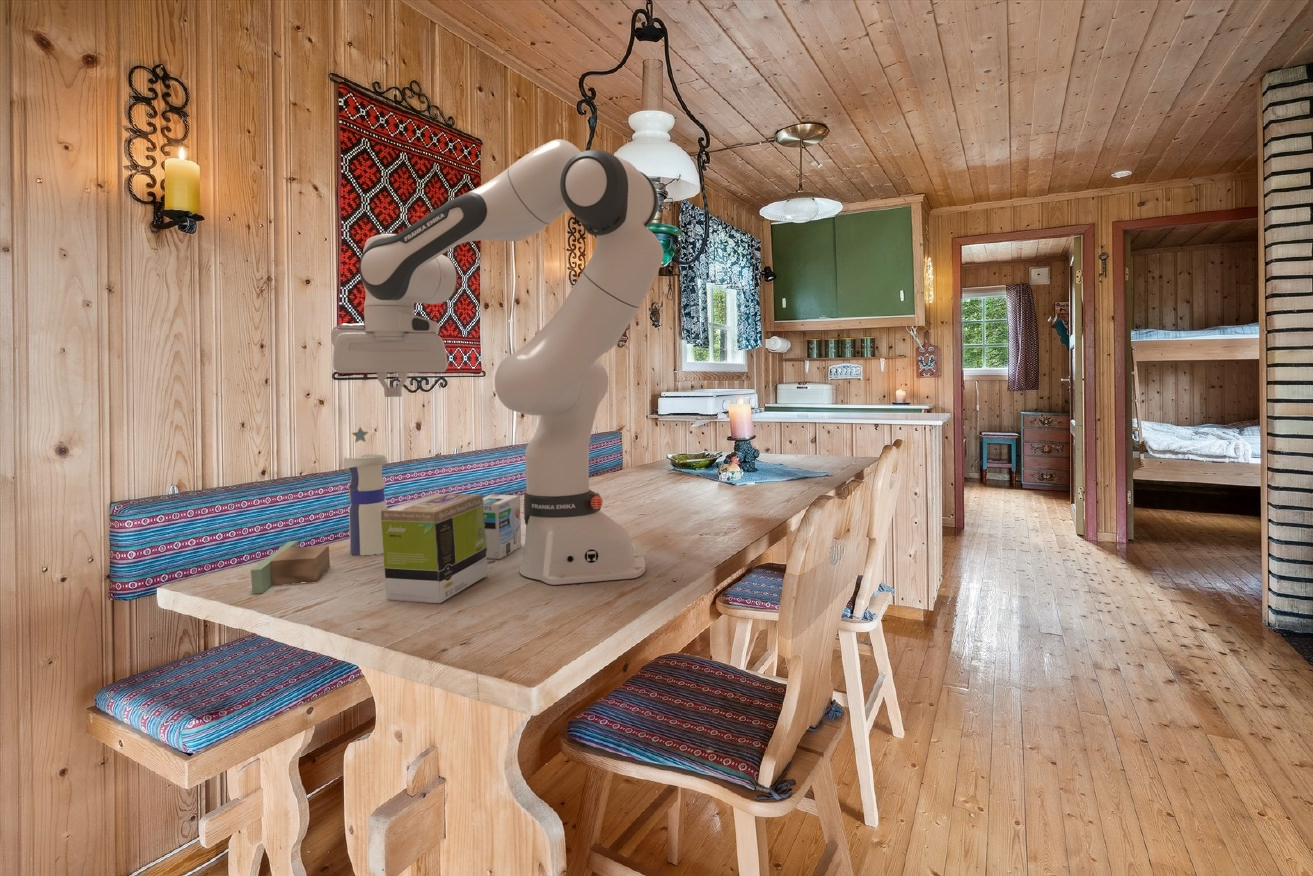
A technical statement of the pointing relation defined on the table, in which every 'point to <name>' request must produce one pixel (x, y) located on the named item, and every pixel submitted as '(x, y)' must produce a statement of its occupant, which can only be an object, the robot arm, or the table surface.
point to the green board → (266, 570)
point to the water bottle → (366, 501)
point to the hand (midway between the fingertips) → (393, 396)
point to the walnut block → (300, 565)
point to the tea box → (433, 547)
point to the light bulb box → (501, 525)
